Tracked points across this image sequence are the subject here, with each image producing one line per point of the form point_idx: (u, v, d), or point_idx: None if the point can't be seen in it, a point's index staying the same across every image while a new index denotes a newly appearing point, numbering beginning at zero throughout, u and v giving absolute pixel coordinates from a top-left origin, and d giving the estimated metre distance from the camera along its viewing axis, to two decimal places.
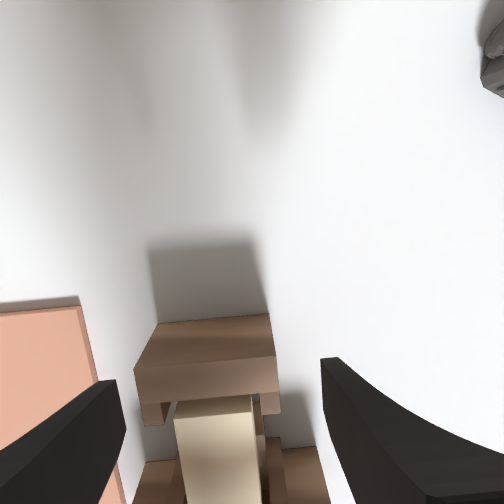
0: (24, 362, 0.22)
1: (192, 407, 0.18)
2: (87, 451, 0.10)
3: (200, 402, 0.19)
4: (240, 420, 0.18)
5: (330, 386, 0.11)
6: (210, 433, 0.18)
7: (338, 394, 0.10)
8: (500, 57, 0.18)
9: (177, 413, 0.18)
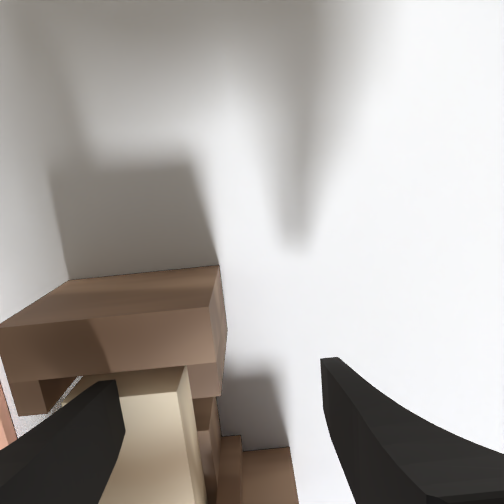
0: None
1: None
2: (86, 450, 0.10)
3: None
4: (161, 403, 0.12)
5: (330, 386, 0.11)
6: None
7: (338, 394, 0.10)
8: None
9: (71, 395, 0.12)
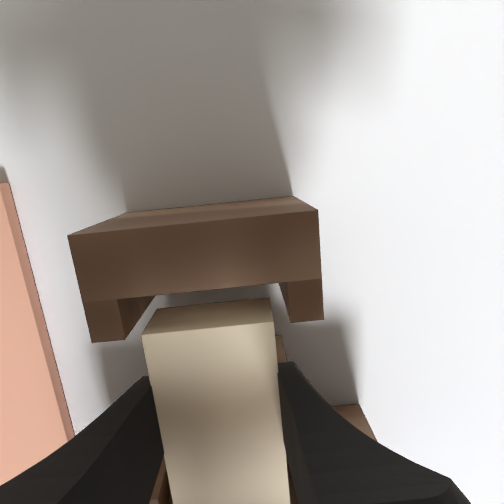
0: None
1: (175, 321, 0.11)
2: (140, 445, 0.10)
3: (188, 315, 0.11)
4: (255, 336, 0.10)
5: (280, 391, 0.11)
6: (204, 360, 0.11)
7: (284, 400, 0.10)
8: None
9: (149, 328, 0.11)
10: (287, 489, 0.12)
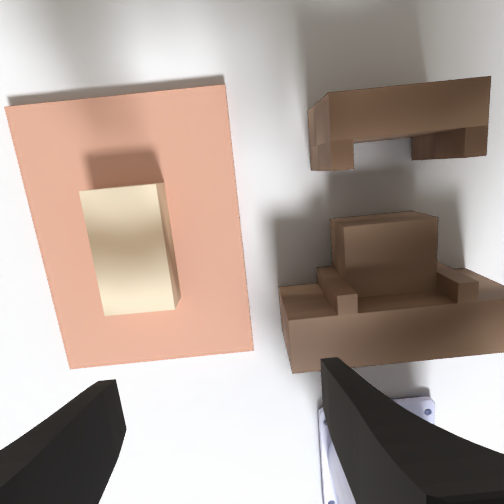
0: (162, 152, 0.20)
1: None
2: (86, 451, 0.10)
3: (111, 187, 0.19)
4: (146, 193, 0.18)
5: (330, 386, 0.11)
6: (116, 208, 0.18)
7: (338, 394, 0.10)
8: None
9: (85, 190, 0.18)
10: (172, 296, 0.19)
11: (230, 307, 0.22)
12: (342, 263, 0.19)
